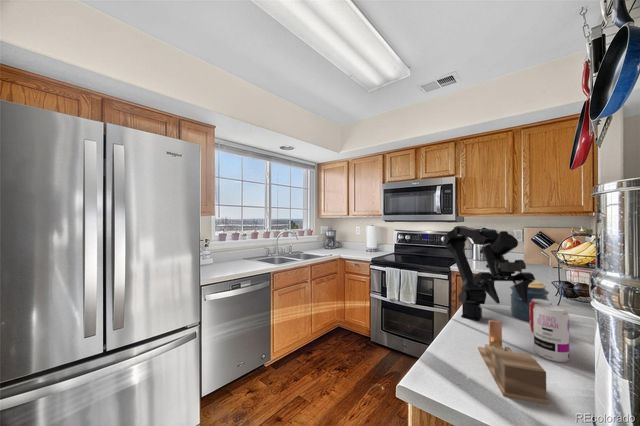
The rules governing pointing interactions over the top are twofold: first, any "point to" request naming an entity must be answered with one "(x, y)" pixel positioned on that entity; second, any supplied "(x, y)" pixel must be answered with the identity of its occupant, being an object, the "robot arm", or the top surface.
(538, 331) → the supplement can
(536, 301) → the soda can
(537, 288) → the canister
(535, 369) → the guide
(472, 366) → the top surface
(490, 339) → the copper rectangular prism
